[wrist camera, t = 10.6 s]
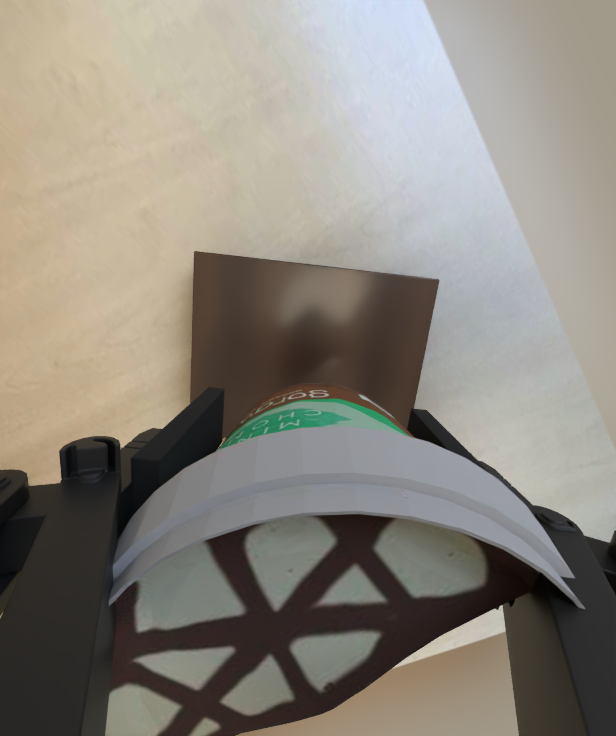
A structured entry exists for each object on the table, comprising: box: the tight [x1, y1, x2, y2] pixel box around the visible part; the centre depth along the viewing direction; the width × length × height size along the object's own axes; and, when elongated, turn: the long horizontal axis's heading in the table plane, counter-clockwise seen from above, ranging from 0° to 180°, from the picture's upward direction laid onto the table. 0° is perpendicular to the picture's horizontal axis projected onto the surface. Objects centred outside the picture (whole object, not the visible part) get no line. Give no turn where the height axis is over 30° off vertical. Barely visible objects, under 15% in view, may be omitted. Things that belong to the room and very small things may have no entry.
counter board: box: [190, 251, 439, 438], centre depth 28 cm, size 20×16×3 cm
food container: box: [105, 383, 585, 736], centre depth 11 cm, size 12×6×10 cm, turn 124°
